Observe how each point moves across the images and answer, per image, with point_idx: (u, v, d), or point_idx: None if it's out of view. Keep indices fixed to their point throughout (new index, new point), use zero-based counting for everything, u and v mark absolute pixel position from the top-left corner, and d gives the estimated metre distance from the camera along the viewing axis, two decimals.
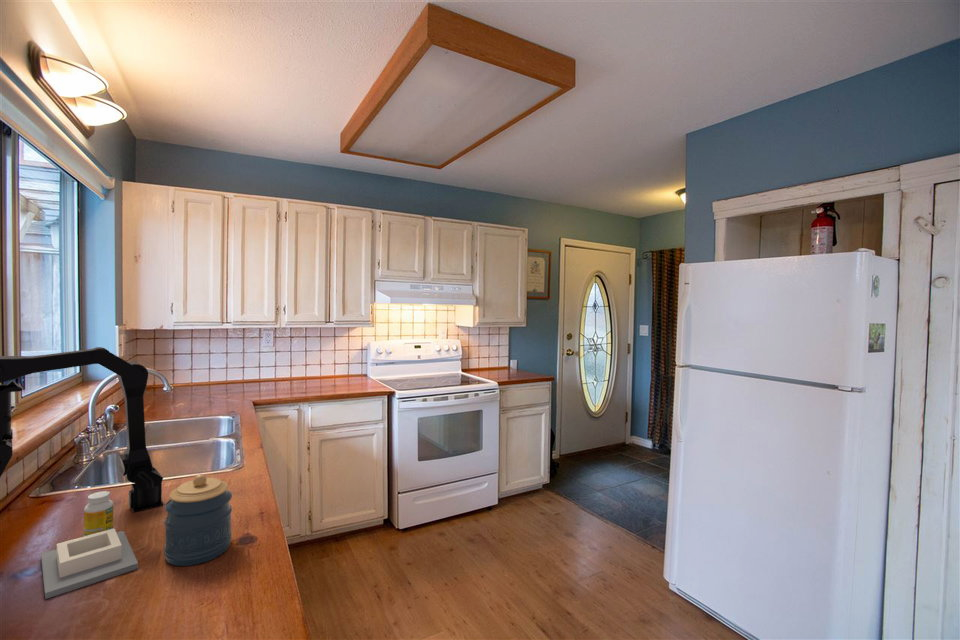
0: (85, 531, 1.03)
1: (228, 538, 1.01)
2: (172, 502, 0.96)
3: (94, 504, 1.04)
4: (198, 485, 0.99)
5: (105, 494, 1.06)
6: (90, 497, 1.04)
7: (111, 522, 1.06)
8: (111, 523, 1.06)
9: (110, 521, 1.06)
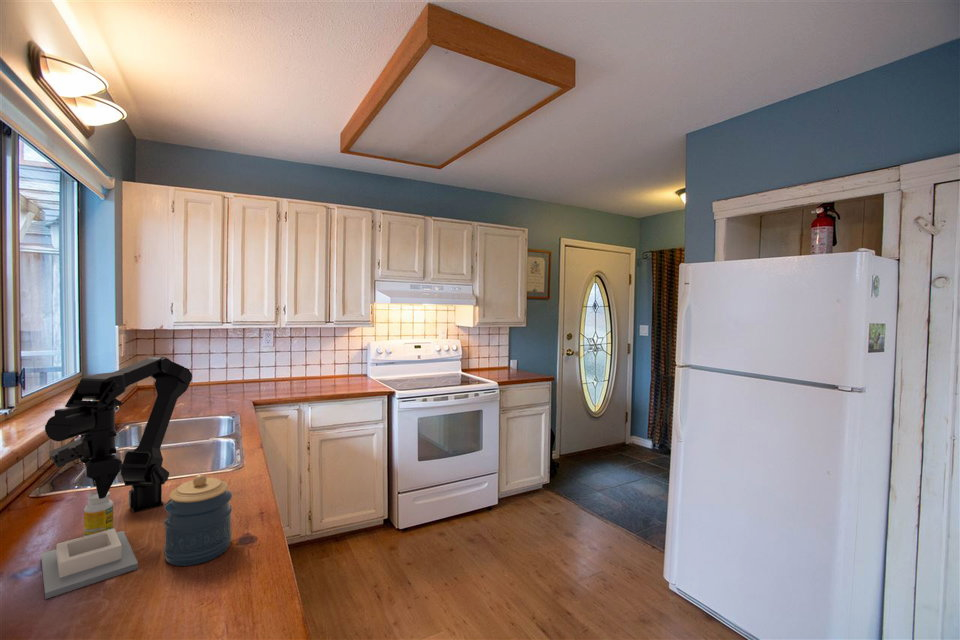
0: (85, 531, 1.03)
1: (228, 538, 1.01)
2: (172, 502, 0.96)
3: (94, 504, 1.04)
4: (198, 485, 0.99)
5: None
6: (90, 497, 1.04)
7: (111, 522, 1.06)
8: (111, 523, 1.06)
9: (110, 521, 1.06)
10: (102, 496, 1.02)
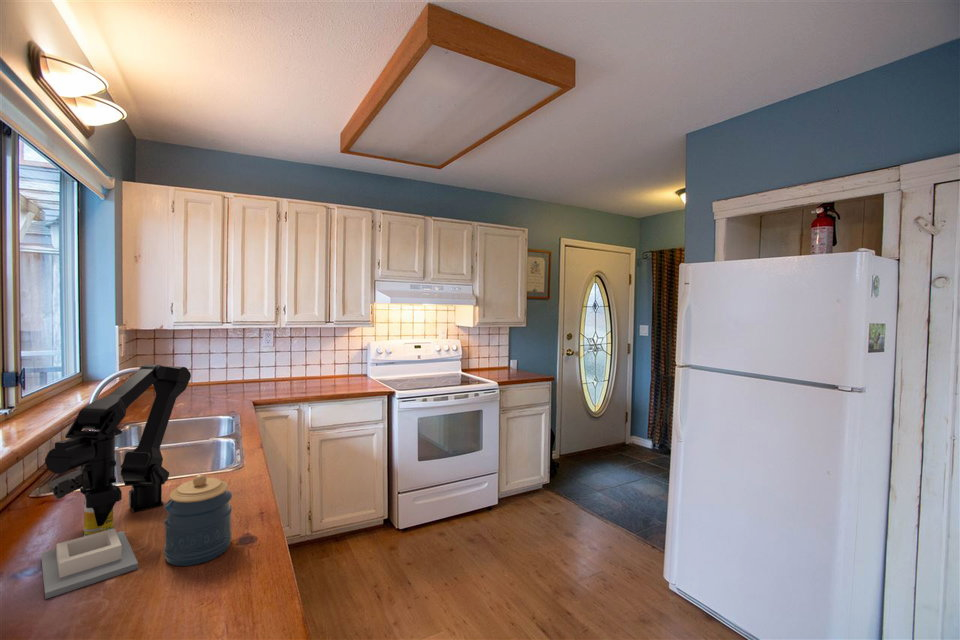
0: (85, 531, 1.03)
1: (228, 538, 1.01)
2: (172, 502, 0.96)
3: None
4: (198, 485, 0.99)
5: None
6: None
7: (111, 522, 1.06)
8: (111, 523, 1.06)
9: (110, 521, 1.06)
10: (100, 524, 1.04)
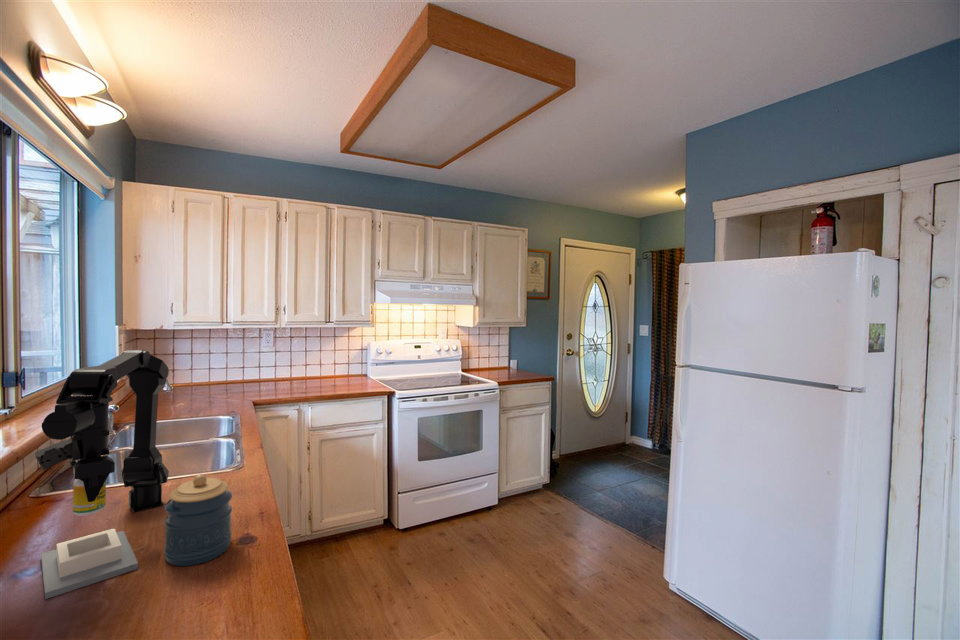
0: (74, 507, 0.93)
1: (228, 538, 1.01)
2: (172, 502, 0.96)
3: None
4: (198, 485, 0.99)
5: None
6: None
7: (103, 498, 0.96)
8: (103, 499, 0.96)
9: (102, 497, 0.96)
10: (91, 499, 0.94)
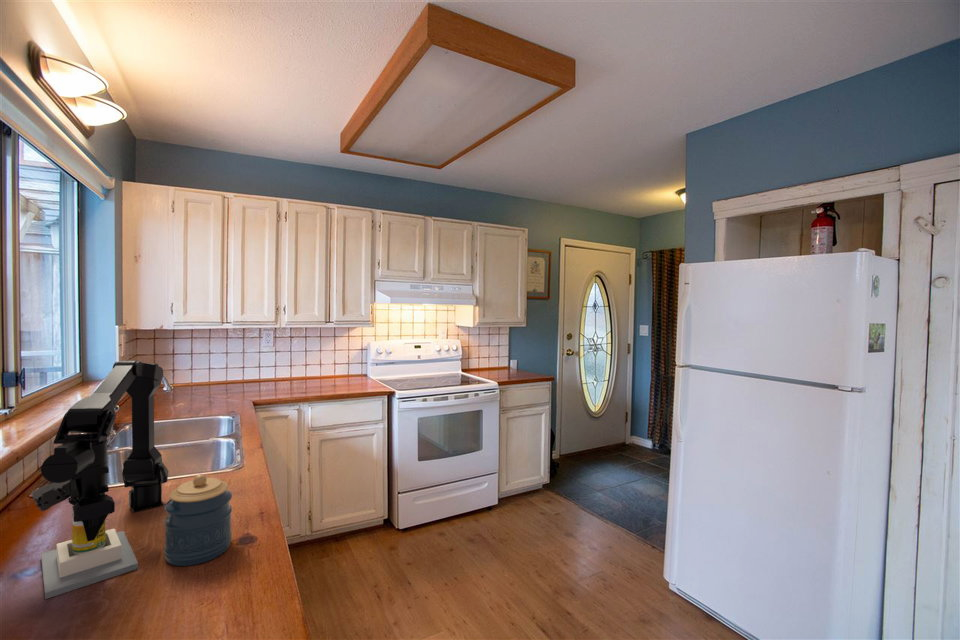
0: (73, 546, 0.92)
1: (228, 538, 1.01)
2: (172, 502, 0.96)
3: None
4: (198, 485, 0.99)
5: None
6: None
7: (103, 536, 0.95)
8: (103, 537, 0.95)
9: (102, 535, 0.94)
10: (91, 538, 0.92)
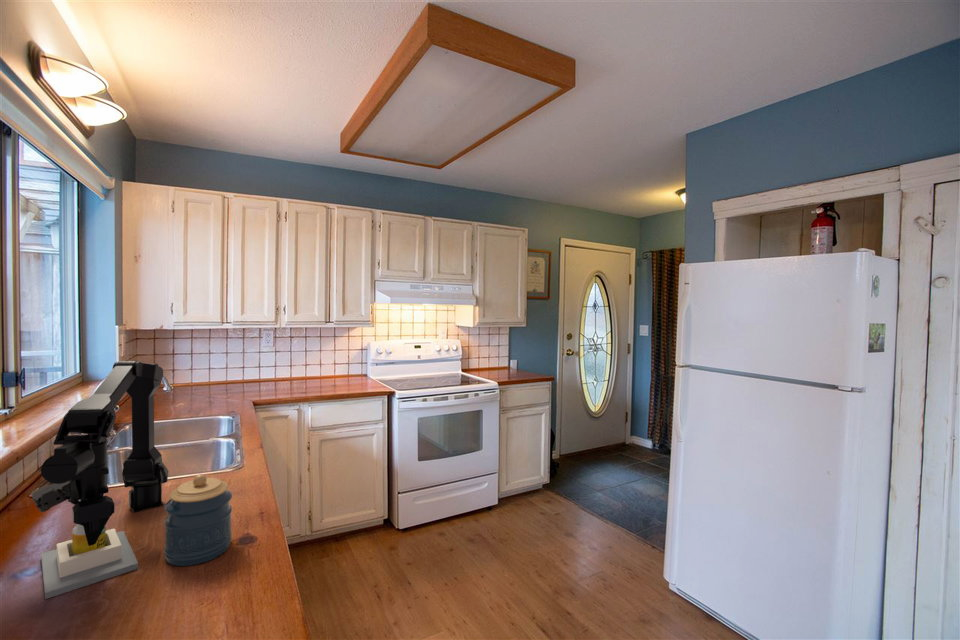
0: None
1: (228, 538, 1.01)
2: (172, 502, 0.96)
3: None
4: (198, 485, 0.99)
5: None
6: None
7: (103, 545, 0.95)
8: (103, 546, 0.95)
9: (102, 544, 0.94)
10: (92, 543, 0.91)
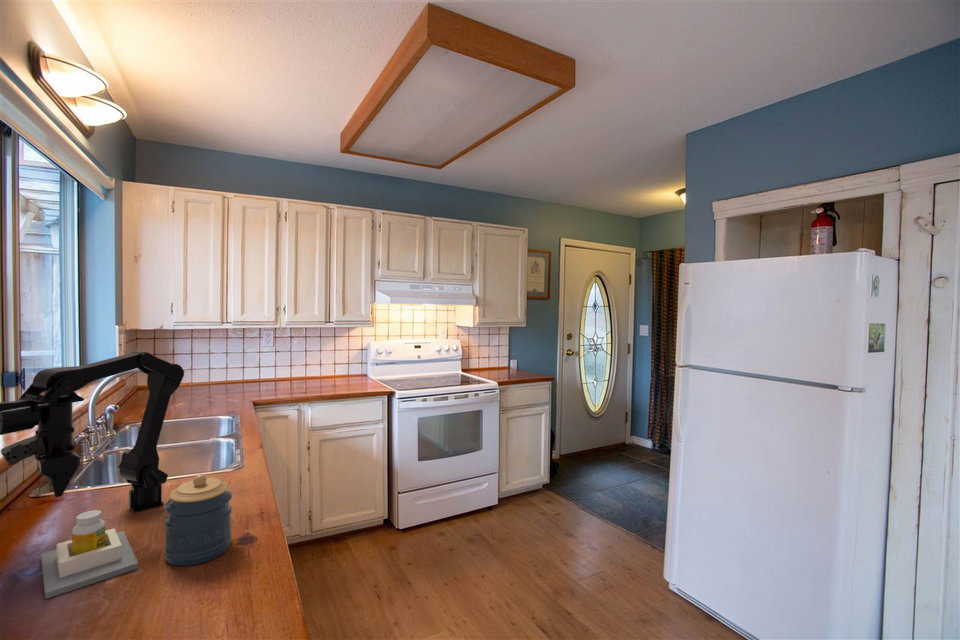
0: None
1: (228, 538, 1.01)
2: (172, 502, 0.96)
3: (83, 525, 0.92)
4: (198, 485, 0.99)
5: (96, 513, 0.94)
6: (79, 517, 0.92)
7: (103, 545, 0.95)
8: (103, 546, 0.95)
9: (102, 544, 0.94)
10: (59, 494, 0.98)
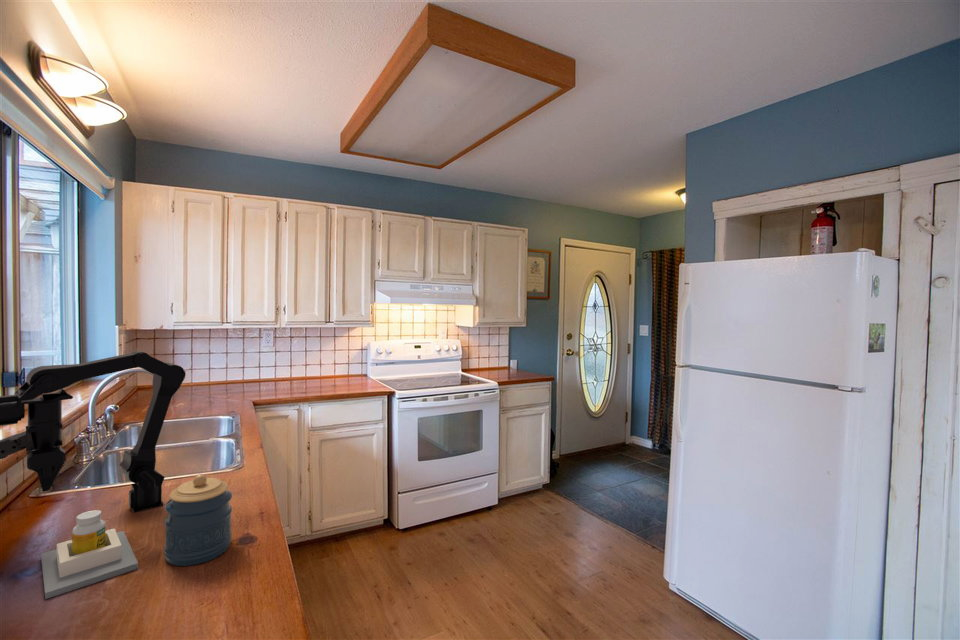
0: None
1: (228, 538, 1.01)
2: (172, 502, 0.96)
3: (84, 525, 0.92)
4: (198, 485, 0.99)
5: (96, 514, 0.94)
6: (79, 517, 0.92)
7: (103, 545, 0.95)
8: (103, 546, 0.95)
9: (102, 544, 0.94)
10: (46, 489, 1.01)
